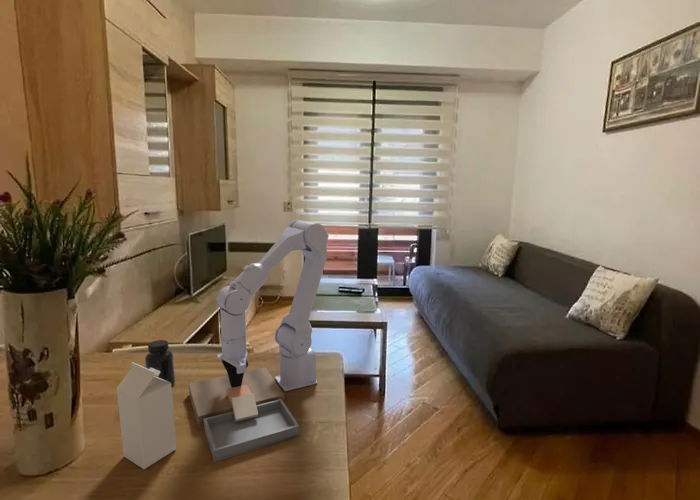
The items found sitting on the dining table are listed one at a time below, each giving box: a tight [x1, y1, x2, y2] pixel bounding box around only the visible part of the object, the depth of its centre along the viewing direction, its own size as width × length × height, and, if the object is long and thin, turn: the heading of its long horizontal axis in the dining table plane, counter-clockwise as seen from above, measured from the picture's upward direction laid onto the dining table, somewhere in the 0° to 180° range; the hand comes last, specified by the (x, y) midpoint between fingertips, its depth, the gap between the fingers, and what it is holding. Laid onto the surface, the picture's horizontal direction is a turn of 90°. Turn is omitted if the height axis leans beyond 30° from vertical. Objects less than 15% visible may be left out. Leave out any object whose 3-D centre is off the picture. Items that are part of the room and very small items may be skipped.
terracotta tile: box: [226, 385, 251, 405], centre depth 100 cm, size 5×5×2 cm
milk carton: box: [116, 361, 177, 470], centre depth 82 cm, size 7×7×19 cm
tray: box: [203, 399, 301, 463], centre depth 91 cm, size 18×12×2 cm, turn 118°
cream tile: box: [231, 393, 258, 422], centre depth 95 cm, size 5×5×2 cm
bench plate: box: [188, 366, 286, 429], centre depth 104 cm, size 20×16×3 cm
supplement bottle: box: [144, 339, 176, 387], centre depth 109 cm, size 7×7×12 cm
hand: (236, 387), depth 102 cm, fingers closed
